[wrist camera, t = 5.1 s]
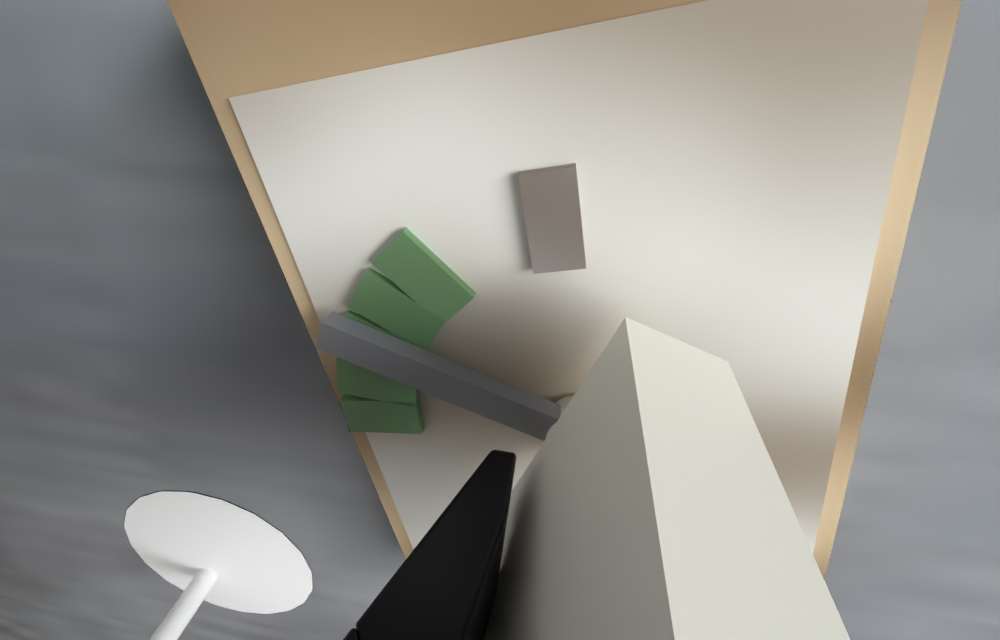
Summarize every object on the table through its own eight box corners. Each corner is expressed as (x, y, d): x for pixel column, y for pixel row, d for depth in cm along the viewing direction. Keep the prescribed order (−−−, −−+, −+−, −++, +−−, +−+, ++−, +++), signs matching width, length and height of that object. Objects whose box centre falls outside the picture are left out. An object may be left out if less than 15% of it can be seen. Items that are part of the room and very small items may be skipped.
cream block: (707, 315, 8) (1056, 1111, 2) (550, 521, 11) (515, 1075, 5) (372, 167, 8) (-371, 665, 2) (306, 425, 11) (-33, 916, 5)
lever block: (775, 556, 15) (813, 659, 12) (453, 550, 17) (432, 638, 14) (883, -161, 7) (1045, -261, 4) (260, -5, 9) (144, -16, 7)
